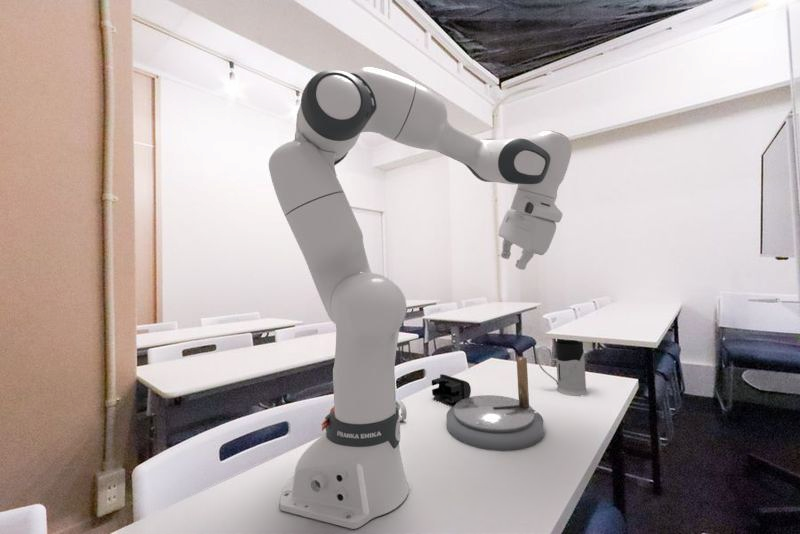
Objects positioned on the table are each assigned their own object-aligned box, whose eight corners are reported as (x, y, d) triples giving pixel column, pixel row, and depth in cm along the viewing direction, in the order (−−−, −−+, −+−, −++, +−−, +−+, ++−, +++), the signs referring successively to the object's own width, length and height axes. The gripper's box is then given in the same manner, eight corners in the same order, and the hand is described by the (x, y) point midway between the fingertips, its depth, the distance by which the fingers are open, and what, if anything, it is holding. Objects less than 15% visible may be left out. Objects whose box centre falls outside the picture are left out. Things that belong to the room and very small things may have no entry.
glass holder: (591, 396, 101) (588, 345, 101) (539, 394, 105) (537, 345, 105) (583, 386, 110) (581, 339, 110) (536, 385, 113) (533, 339, 114)
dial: (465, 436, 75) (462, 373, 75) (447, 403, 94) (444, 353, 94) (549, 428, 76) (546, 367, 76) (514, 398, 95) (512, 349, 95)
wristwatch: (400, 415, 94) (399, 397, 94) (409, 422, 90) (408, 402, 90) (390, 418, 93) (389, 399, 93) (399, 425, 88) (398, 405, 88)
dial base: (444, 447, 76) (443, 435, 76) (448, 407, 98) (448, 397, 98) (555, 452, 71) (554, 439, 71) (533, 409, 94) (532, 399, 94)
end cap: (471, 402, 102) (470, 379, 102) (454, 408, 97) (453, 384, 98) (448, 393, 110) (447, 372, 110) (431, 399, 105) (430, 377, 106)
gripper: (502, 199, 89) (485, 250, 92) (539, 208, 69) (516, 272, 73) (524, 205, 90) (507, 255, 93) (567, 216, 70) (543, 278, 74)
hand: (511, 263), depth 83 cm, fingers open, 8 cm apart
